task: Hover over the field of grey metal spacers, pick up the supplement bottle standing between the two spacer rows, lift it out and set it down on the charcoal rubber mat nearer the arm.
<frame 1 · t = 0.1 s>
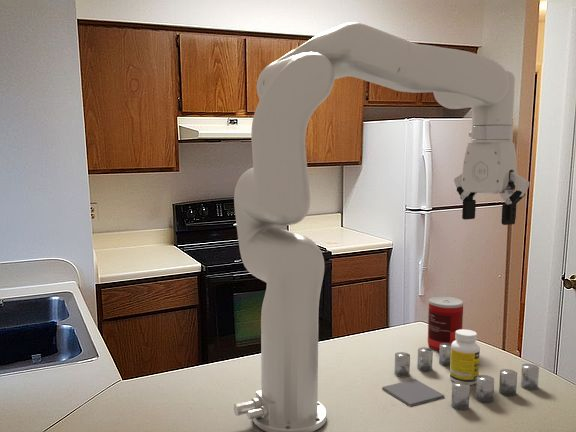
hand: (487, 221, 108), 31 cm above the countertop, tool pointing down, fingers open, 9 cm apart
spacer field: (463, 379, 107), on the countertop
canned food: (444, 347, 125), on the countertop
supplement bottle: (463, 381, 107), on the countertop
mat: (412, 392, 101), on the countertop
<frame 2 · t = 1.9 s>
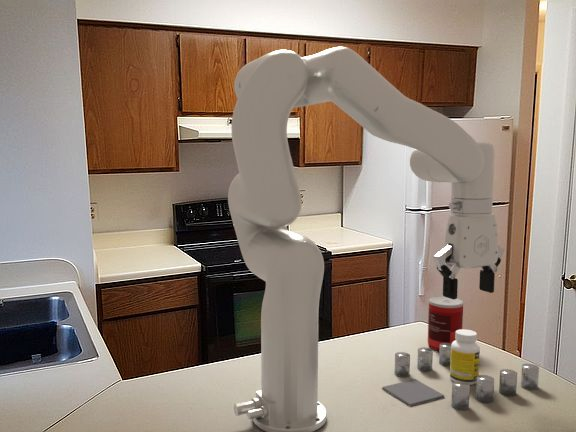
hand: (468, 294, 105), 17 cm above the countertop, tool pointing down, fingers open, 9 cm apart
nothing on the countertop moved.
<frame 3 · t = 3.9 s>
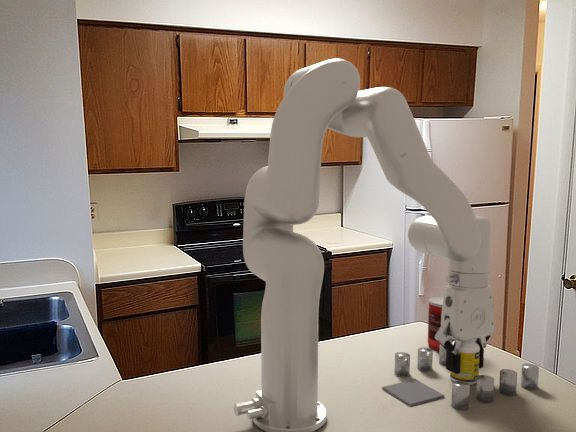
hand: (464, 367, 106), 3 cm above the countertop, tool pointing down, fingers closed on supplement bottle, 5 cm apart
supplement bottle: (463, 381, 107), on the countertop, touching gripper
everything else where it was.
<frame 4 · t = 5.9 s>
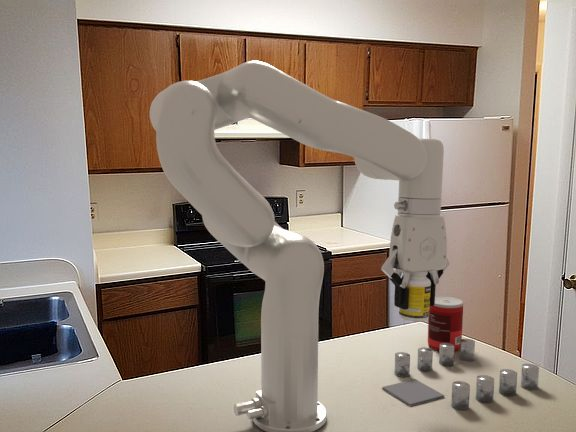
hand: (414, 304, 99), 17 cm above the countertop, tool pointing down, fingers closed on supplement bottle, 5 cm apart
supplement bottle: (413, 319, 99), point 14 cm above the countertop, touching gripper
everything else where it was.
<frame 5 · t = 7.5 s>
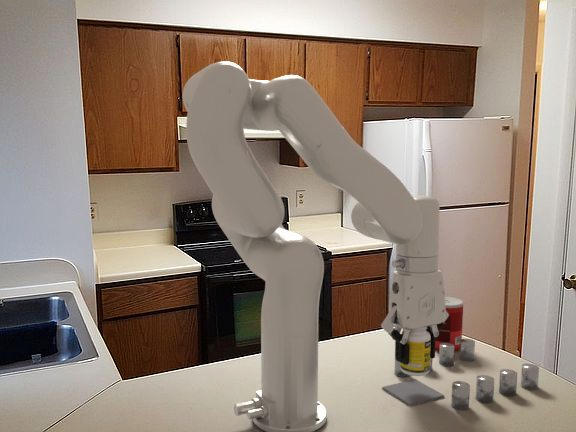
hand: (415, 358, 100), 7 cm above the countertop, tool pointing down, fingers closed on supplement bottle, 5 cm apart
supplement bottle: (414, 372, 100), point 4 cm above the countertop, touching gripper
everything else where it was.
when the fingers open (4 cm above the countertop, at t = 8.4 s): supplement bottle stays where it is, resting on mat.
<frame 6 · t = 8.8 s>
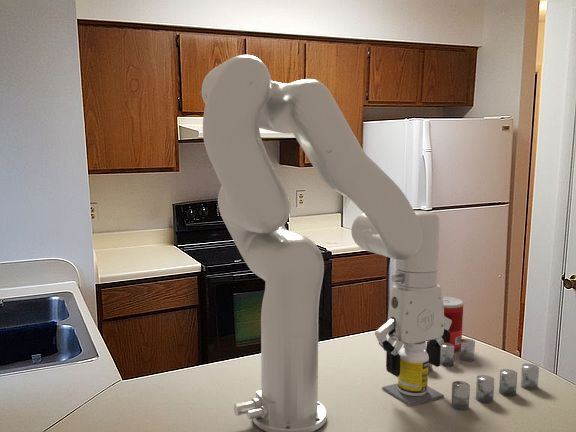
hand: (413, 368, 100), 5 cm above the countertop, tool pointing down, fingers open, 9 cm apart
supplement bottle: (412, 391, 101), resting on mat
everything else where it was.
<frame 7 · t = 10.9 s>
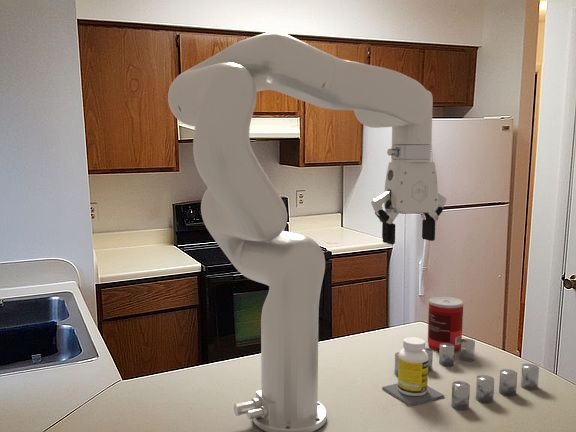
hand: (408, 241, 106), 27 cm above the countertop, tool pointing down, fingers open, 9 cm apart
nothing on the countertop moved.
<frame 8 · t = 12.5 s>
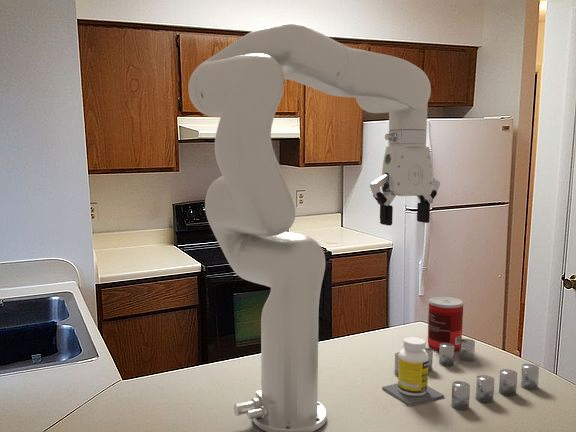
hand: (404, 223, 111), 30 cm above the countertop, tool pointing down, fingers open, 9 cm apart
nothing on the countertop moved.
at the end: supplement bottle inside the target area on the mat (0.0 cm from its centre), point 0.2 cm above the mat's base; supplement bottle tilted 0°; the gripper is holding nothing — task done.
